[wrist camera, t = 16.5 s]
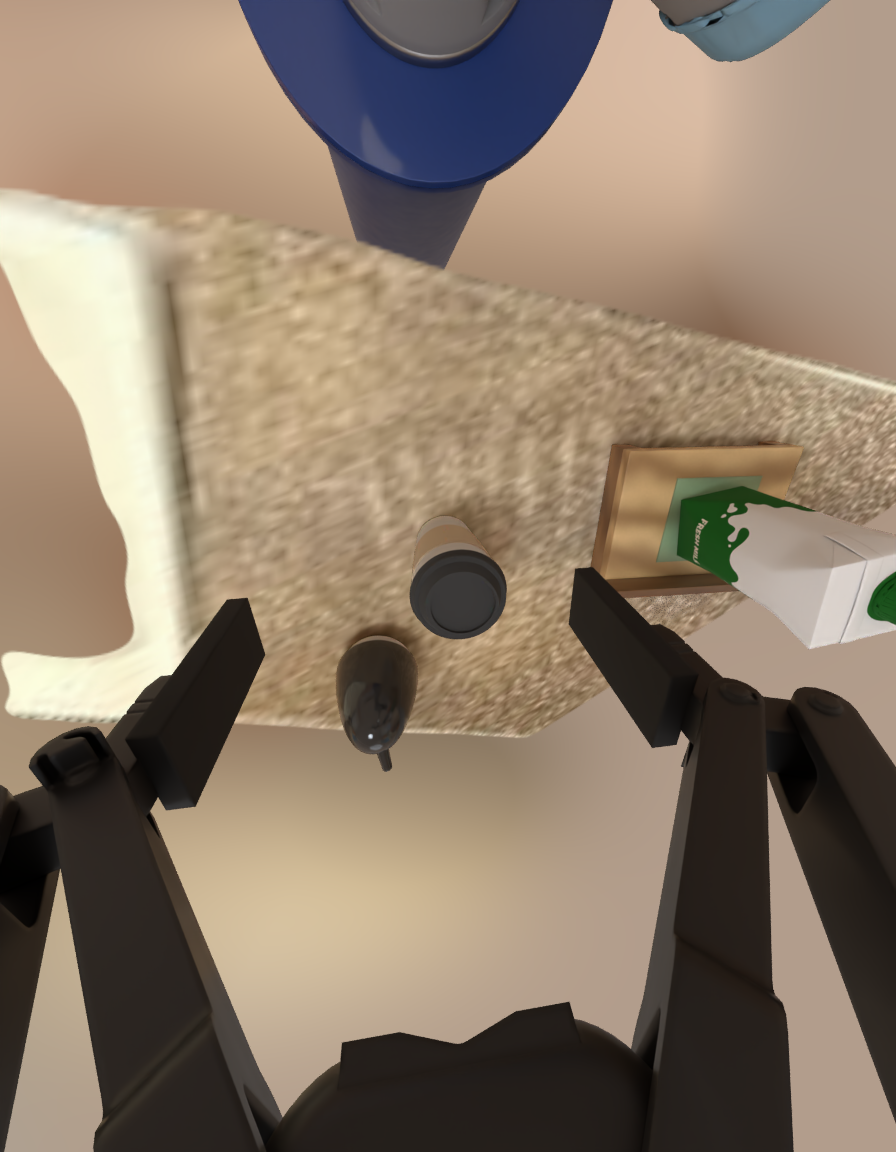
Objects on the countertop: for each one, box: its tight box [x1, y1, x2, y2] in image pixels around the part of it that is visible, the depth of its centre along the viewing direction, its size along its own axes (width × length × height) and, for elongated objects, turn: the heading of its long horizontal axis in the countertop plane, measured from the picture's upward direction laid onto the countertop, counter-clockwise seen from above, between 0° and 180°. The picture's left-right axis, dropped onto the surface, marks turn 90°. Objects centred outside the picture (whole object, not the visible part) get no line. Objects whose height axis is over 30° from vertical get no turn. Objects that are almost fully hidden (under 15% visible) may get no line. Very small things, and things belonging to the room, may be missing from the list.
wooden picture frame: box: [591, 441, 804, 598], centre depth 47 cm, size 16×20×7 cm
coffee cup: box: [410, 516, 507, 639], centre depth 42 cm, size 9×9×15 cm
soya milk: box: [677, 486, 896, 649], centre depth 38 cm, size 9×9×20 cm
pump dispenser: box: [336, 636, 418, 772], centre depth 48 cm, size 10×10×15 cm
